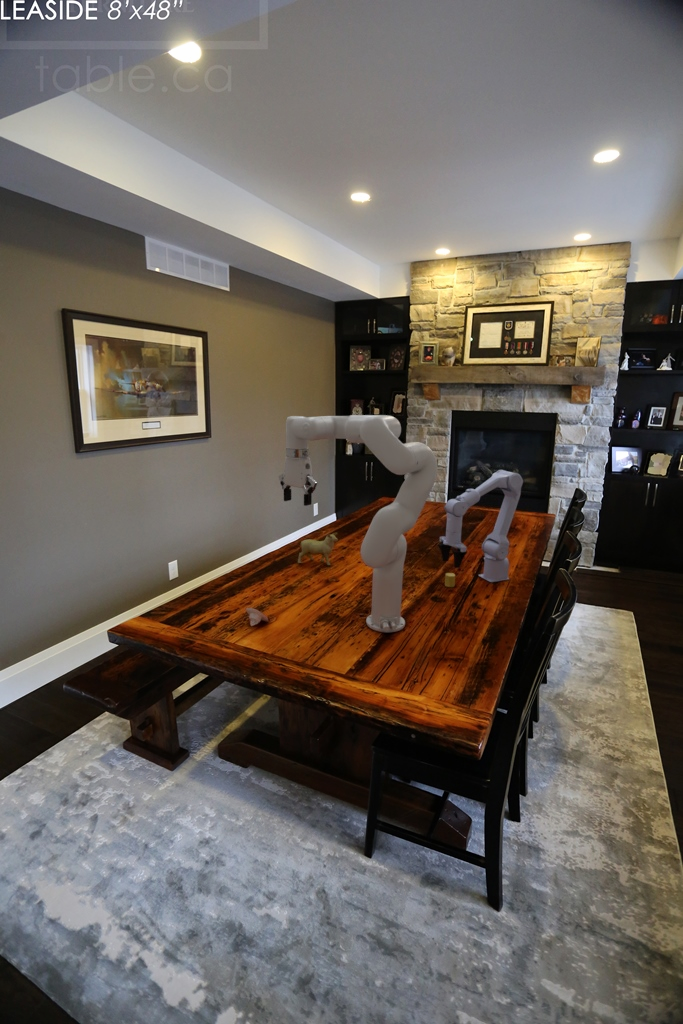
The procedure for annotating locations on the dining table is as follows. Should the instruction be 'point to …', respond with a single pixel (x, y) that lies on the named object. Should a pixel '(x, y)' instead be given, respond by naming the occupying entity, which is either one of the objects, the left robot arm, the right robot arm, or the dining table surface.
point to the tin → (449, 579)
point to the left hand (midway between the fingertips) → (297, 502)
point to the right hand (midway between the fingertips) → (451, 564)
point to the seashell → (255, 616)
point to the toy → (318, 548)
